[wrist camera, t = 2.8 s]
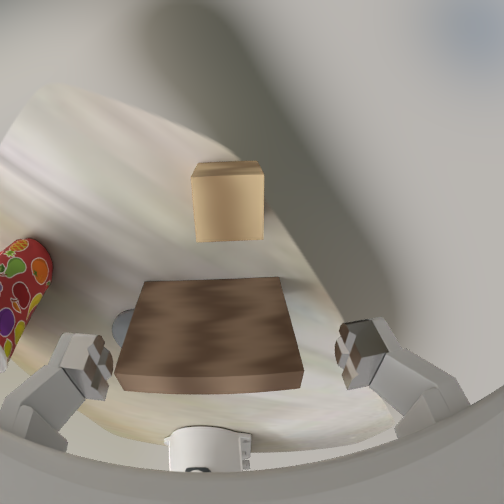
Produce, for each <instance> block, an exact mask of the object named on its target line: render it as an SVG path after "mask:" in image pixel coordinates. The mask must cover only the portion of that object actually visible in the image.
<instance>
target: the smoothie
mask: <svg viewBox="0 0 504 504" xmlns="http://www.w3.org/2000/svg"><path fill="white" fill-rule="evenodd" d="M52 271H53V265H52V260H51V258H50V255H49V253H48V252H47V250H46V249H45V248H44V247H43V246H42V245H41V244H40V243H39V242H37V241H36V240H34V239H30V238H27V239H19V240H16V241H14V242H13V243H12V244H11V245H9V246H8V247H7V248H6V249H4V250H3V251H2V252H1V253H0V373H2V372H5V371H6V369H7V367H8V362H9V360H10V358H11V356H12V354H13V352H14V349H15V347H16V345H17V343H18V341H19V339H20V337H21V335H22V333H23V331H24V329H25V327H26V325H27V323H28V321H29V319H30V318H31V316H32V314H33V312H34V310H35V309H36V307H37V305H38V303H39V302H40V300H41V298H42V296H43V295H44V293H45V291H46V290H47V288H48V286H49V285H50V283H51V279H52Z"/></svg>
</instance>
